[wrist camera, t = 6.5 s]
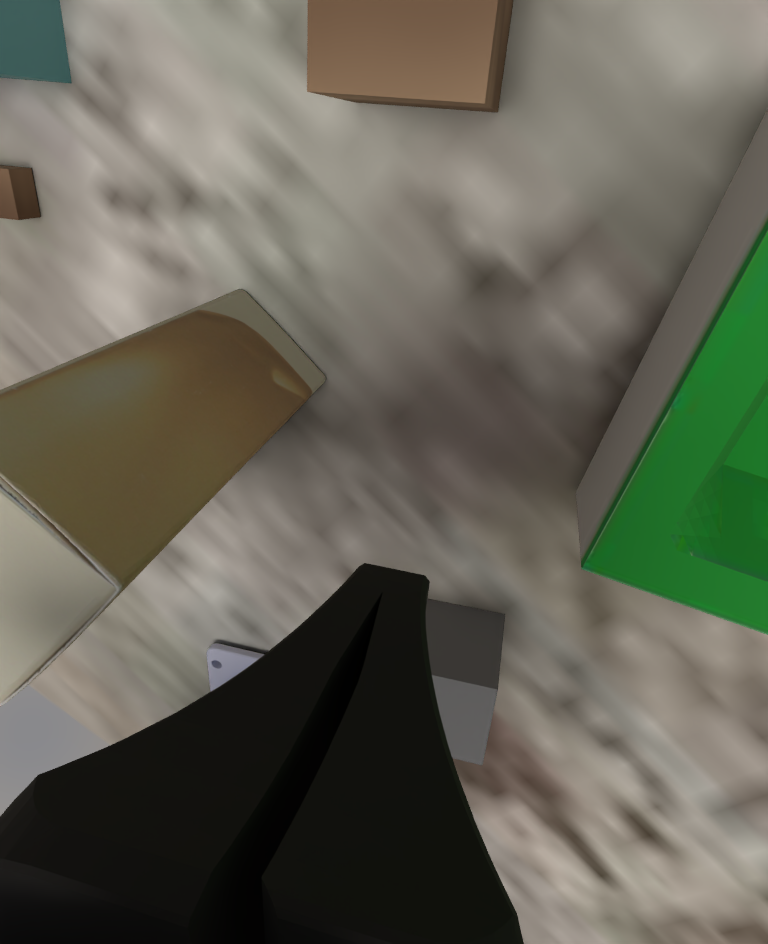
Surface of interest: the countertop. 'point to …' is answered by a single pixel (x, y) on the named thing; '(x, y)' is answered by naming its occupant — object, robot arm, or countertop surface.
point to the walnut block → (409, 51)
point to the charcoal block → (464, 673)
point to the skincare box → (127, 462)
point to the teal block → (33, 41)
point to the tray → (696, 430)
